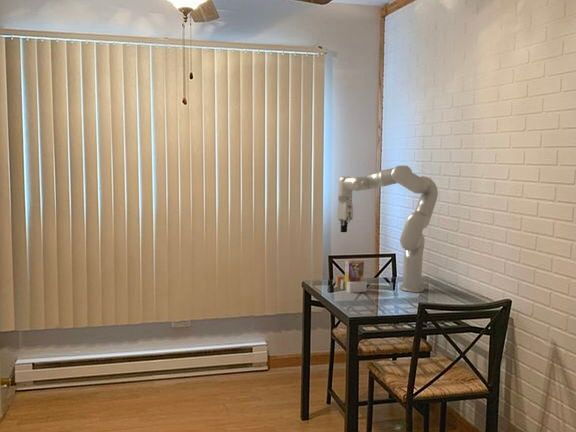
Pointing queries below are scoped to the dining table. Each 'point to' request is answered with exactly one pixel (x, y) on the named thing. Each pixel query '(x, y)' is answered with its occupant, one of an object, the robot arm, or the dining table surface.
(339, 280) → the sliding jaw
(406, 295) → the dining table surface
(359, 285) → the vise base
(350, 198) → the robot arm
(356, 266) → the candy box
